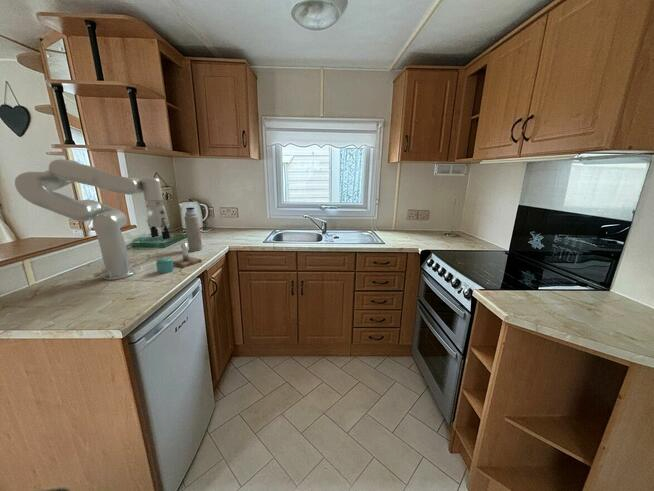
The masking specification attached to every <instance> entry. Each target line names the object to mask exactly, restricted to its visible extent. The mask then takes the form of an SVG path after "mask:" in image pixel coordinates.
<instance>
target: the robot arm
mask: <svg viewBox="0 0 654 491" xmlns="http://www.w3.org/2000/svg"><path fill="white" fill-rule="evenodd" d="M73 183H77V184H82V185H87V186H91V187H94V188H98V189H101V190H104V191H108V192H113V193H119V194H123V195H127V196H128V195H134V194H135V195H136V194H142V193H143V197H144V203H145V208H146V213H147V220H146V223H147V224H148V225H147V226H148V227H149V230H150V236H151V238H157V237H159V230H158V228H160V229H161V235H162V236H161V237H162V240H163V241H164V240H169V239H170V236H171V235H170V225H171V223H170V221H169V218H168V213H167V211H166V207H165V203H164V199H163V198H164V197H163V192H162V186H161V181H160V179H159V177H134V176H132V177H126V176H122V175H117V174H113V173H110V172H109V173H108V172H105V171H103V169H101V168H99V167H95V166H93V165H86V164H83V163H80V162H78V161H75V160H73V159H72V160H71V159H59V158H58V159H55V160H52V161H51V162H50V163H49V164H48V170H45V171H28V172H23V173H19V175H17V176H16V177H15V179H14V186H15V188H16V191H17V193H18V194H19V195H20V197H22V198H23V199H24V200H26V201H27V202H28V203H31V204H32V205H35V206H36V207H39V208H42V209H45V210H48V211H50V212H53V213H55V214H57V215H60V216H64V217H66V218H69V219H71V220H74V221H76V222H80V223H83V222H88V221H92V228H93V230H94V232H95V234H96V237H97V241H98V244H99V248H100V253H101V256H102V261H103V265H104V268H102V270H101V271H100V272H99V271H98V272H94V273H93V274H92V276H93V277H94V278H98V277H100V278H101V277H102V278H103V280H107V281H112V280H120V279H125V278H128V277H130V276H132V275H134V274H135V269H132V268H131V266H130V261H129V257H128V253H127V252H128V251H127V246H126V243H125V238H124V235H123V233H122V230H121V228H123V227H125V226H126V225H127V223H128V217H127V215H126V214H125V213H124V212H123V211H121V210H120V209H117V208H115V207H112V206H109V205H108V204H104V203H103V202H100V201H97V200H94V199H82V200H79V199H75V198H72V197H69V196H67V195H65V194H63V193H59V192H56V190H59V189H61V188H64V187H66V186H69V185H71V184H73Z"/></svg>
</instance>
